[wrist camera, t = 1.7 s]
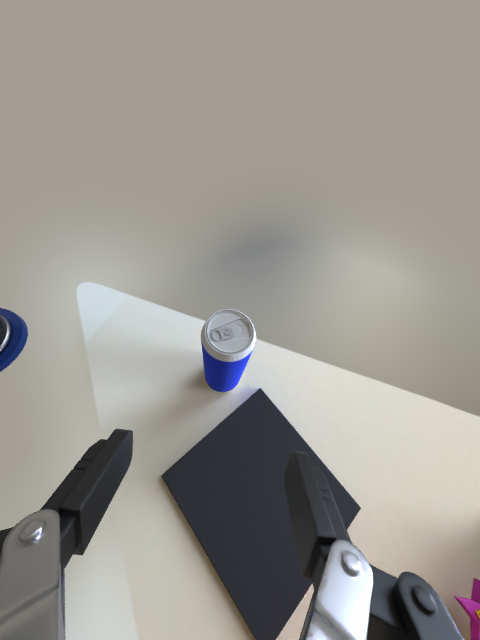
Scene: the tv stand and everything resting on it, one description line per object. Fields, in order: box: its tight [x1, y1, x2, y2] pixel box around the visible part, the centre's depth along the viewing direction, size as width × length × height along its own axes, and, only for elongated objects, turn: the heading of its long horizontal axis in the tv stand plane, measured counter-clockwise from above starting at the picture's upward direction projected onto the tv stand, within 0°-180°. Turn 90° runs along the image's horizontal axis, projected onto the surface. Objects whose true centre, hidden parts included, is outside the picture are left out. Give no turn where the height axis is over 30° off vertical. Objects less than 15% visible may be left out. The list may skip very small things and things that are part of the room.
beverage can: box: [201, 309, 256, 392], centre depth 26 cm, size 5×5×15 cm
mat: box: [162, 388, 361, 640], centre depth 26 cm, size 16×18×1 cm
